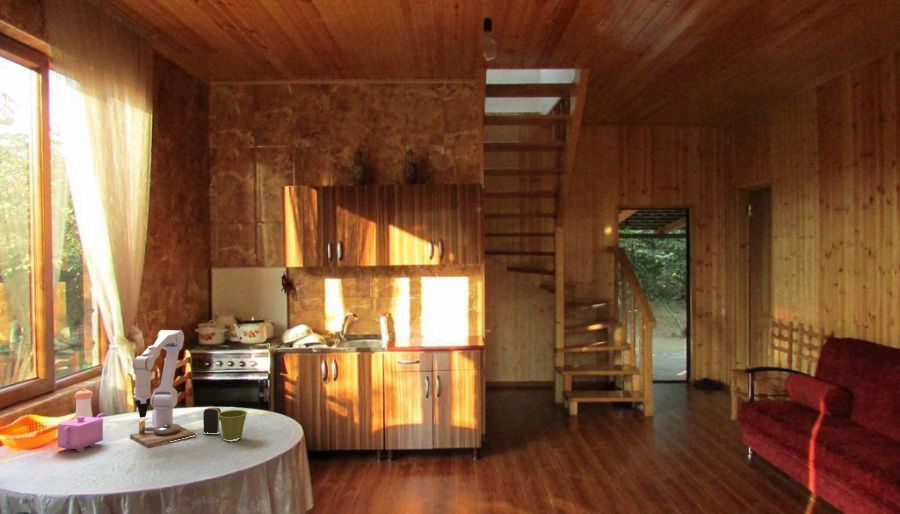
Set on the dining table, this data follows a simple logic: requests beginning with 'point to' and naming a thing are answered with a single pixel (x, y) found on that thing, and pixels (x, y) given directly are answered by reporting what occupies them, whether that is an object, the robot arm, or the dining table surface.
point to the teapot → (80, 432)
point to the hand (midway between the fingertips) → (142, 417)
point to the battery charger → (211, 420)
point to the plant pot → (232, 423)
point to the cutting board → (159, 437)
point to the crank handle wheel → (159, 428)
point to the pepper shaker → (83, 403)
